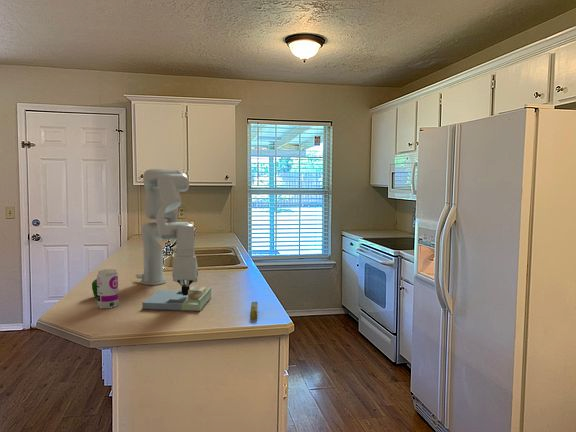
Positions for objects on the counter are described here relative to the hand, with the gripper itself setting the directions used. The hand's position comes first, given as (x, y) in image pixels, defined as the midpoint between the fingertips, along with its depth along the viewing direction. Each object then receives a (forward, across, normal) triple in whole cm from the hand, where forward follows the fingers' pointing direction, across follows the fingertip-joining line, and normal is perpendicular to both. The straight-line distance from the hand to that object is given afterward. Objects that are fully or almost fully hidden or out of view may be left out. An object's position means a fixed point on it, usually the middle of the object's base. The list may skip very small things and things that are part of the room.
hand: (185, 294), depth 188 cm
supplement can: (+4, -31, -7) cm, 32 cm away
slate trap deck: (+4, -3, 0) cm, 5 cm away
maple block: (+1, +5, 0) cm, 5 cm away
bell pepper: (+4, -40, +6) cm, 41 cm away
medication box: (+4, +32, -11) cm, 34 cm away
